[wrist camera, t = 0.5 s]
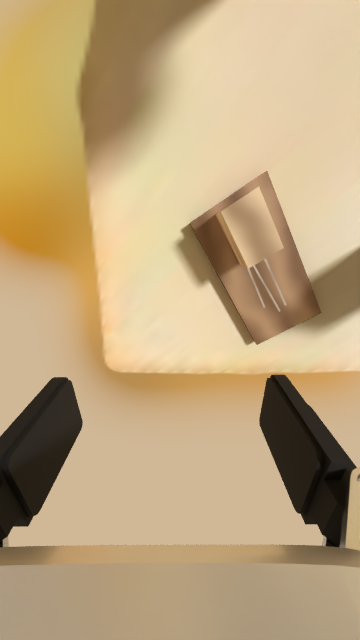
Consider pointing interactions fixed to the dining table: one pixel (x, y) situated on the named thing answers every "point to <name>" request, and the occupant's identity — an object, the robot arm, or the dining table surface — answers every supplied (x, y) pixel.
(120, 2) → the dining table surface
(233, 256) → the board
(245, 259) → the block
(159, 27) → the dining table surface
